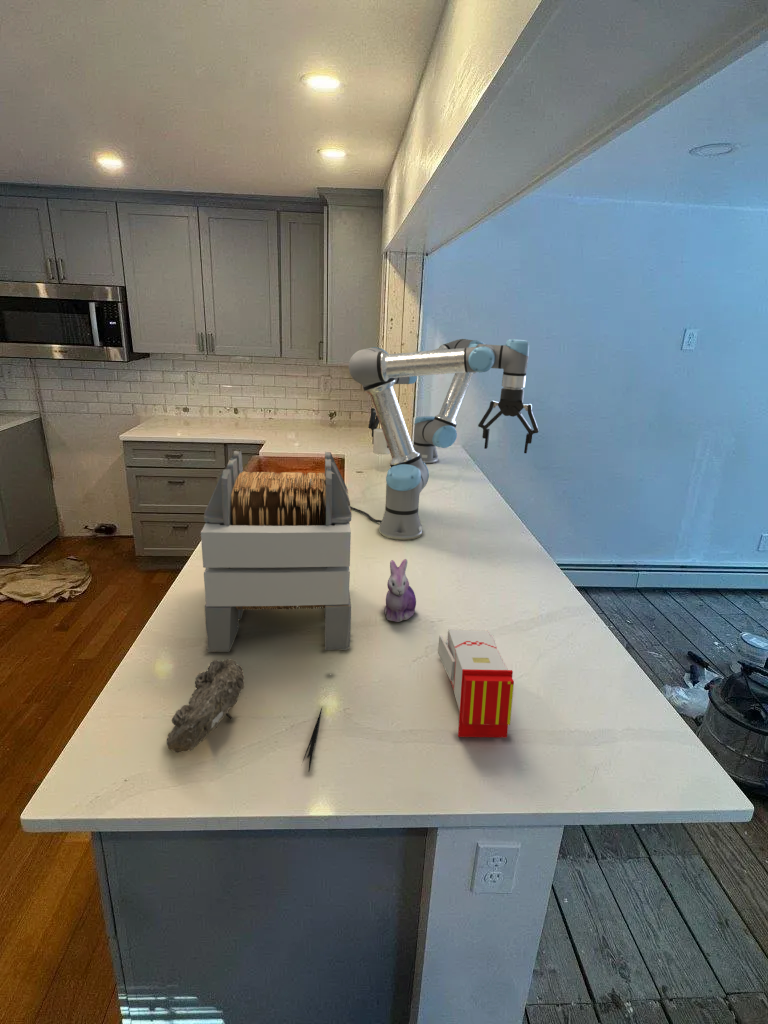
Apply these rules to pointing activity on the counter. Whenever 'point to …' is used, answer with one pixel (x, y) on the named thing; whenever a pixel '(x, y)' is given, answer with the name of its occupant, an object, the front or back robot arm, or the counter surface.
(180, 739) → the fossil
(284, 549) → the transformer
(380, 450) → the canister
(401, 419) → the front robot arm
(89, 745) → the counter surface
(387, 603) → the figurine
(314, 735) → the feather
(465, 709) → the toy
